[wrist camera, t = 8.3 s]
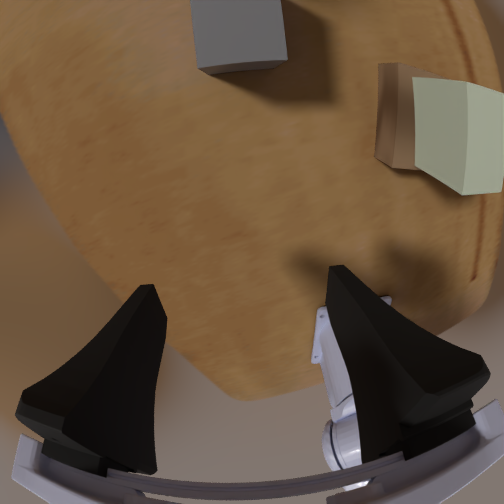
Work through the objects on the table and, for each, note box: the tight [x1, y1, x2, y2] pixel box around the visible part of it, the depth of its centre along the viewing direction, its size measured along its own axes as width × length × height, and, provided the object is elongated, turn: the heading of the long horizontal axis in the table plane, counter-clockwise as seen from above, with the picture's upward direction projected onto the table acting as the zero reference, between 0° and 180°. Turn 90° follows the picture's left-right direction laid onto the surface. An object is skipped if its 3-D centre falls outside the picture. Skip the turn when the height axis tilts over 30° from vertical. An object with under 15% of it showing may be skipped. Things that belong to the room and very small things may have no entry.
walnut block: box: [374, 63, 450, 171], centre depth 14 cm, size 7×7×3 cm
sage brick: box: [412, 77, 504, 195], centre depth 11 cm, size 6×4×5 cm, turn 9°
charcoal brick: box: [190, 0, 288, 75], centre depth 10 cm, size 6×4×5 cm, turn 6°
